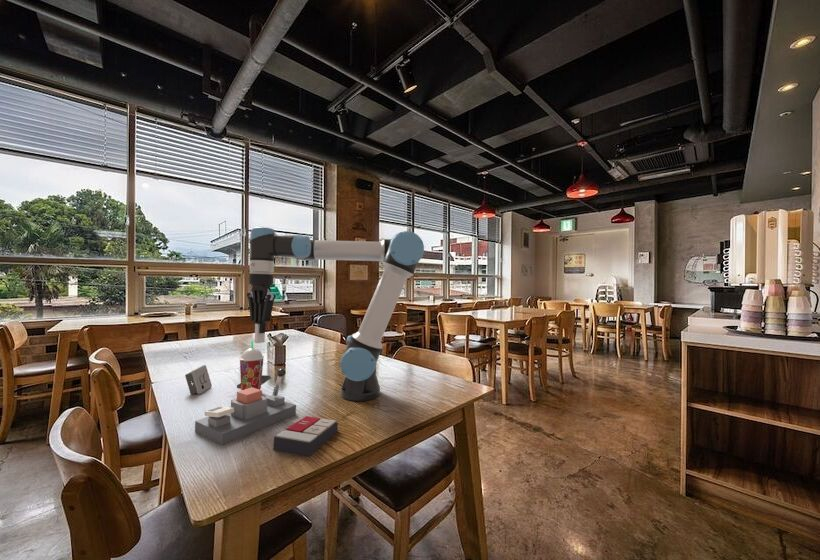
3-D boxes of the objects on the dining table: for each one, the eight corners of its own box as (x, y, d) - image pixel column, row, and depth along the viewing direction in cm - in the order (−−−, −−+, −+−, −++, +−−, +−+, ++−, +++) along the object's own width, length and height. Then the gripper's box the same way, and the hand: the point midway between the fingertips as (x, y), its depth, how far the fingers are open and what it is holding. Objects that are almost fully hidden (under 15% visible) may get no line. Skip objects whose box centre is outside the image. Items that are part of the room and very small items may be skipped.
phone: (235, 386, 131) (254, 375, 146) (235, 388, 131) (254, 377, 146) (255, 386, 130) (271, 375, 146) (255, 389, 130) (271, 378, 146)
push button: (251, 399, 104) (252, 387, 104) (261, 403, 101) (261, 390, 101) (236, 404, 99) (236, 391, 99) (246, 408, 97) (246, 395, 97)
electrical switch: (200, 395, 122) (198, 370, 122) (185, 396, 121) (183, 372, 121) (212, 387, 131) (210, 364, 131) (198, 388, 130) (196, 365, 130)
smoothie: (267, 389, 129) (268, 339, 129) (255, 397, 121) (256, 343, 121) (247, 388, 130) (248, 338, 130) (233, 396, 122) (235, 342, 122)
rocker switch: (220, 410, 96) (220, 406, 96) (234, 411, 93) (233, 407, 93) (204, 415, 92) (204, 411, 92) (218, 417, 89) (218, 412, 89)
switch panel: (268, 404, 114) (269, 384, 114) (295, 414, 107) (296, 392, 107) (194, 431, 93) (195, 407, 93) (222, 445, 86) (223, 418, 86)
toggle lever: (275, 392, 110) (283, 366, 108) (280, 396, 108) (288, 370, 107) (268, 394, 107) (276, 368, 106) (273, 399, 106) (281, 372, 104)
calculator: (338, 419, 96) (310, 440, 82) (337, 434, 96) (309, 458, 82) (305, 414, 99) (273, 434, 85) (305, 429, 99) (272, 451, 84)
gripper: (240, 272, 111) (238, 341, 111) (263, 273, 104) (261, 346, 104) (260, 273, 117) (258, 338, 117) (283, 274, 111) (281, 343, 111)
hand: (259, 342), depth 111 cm, fingers closed
